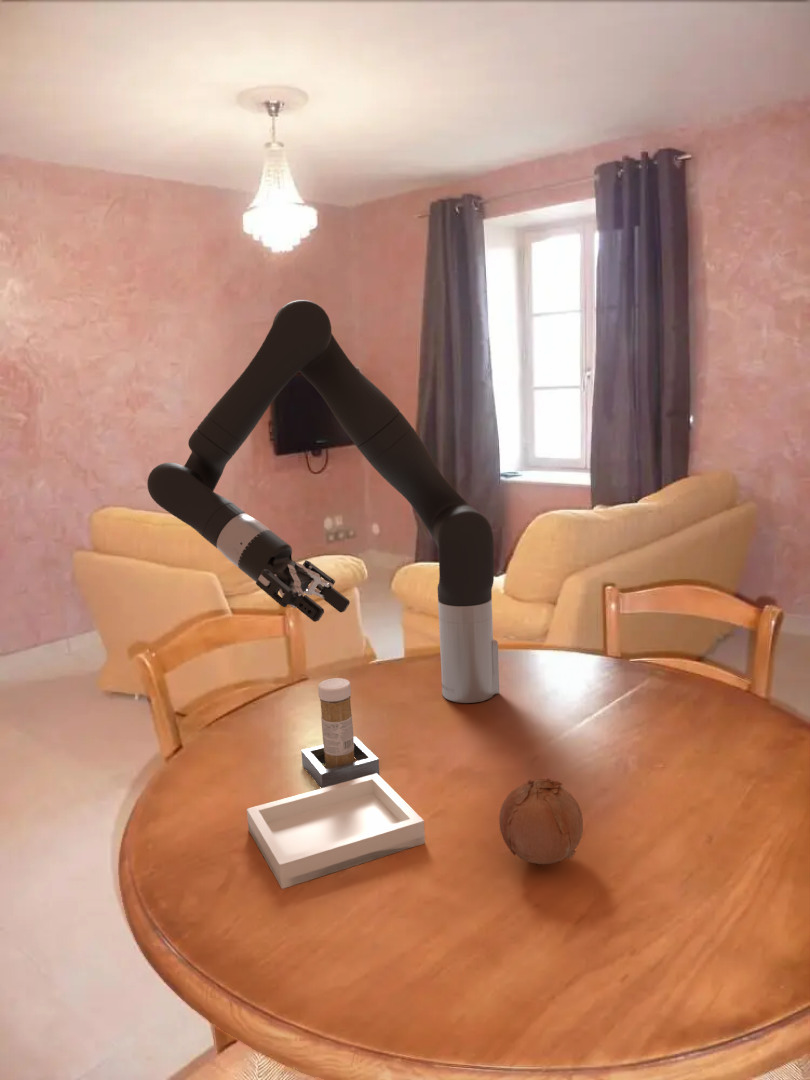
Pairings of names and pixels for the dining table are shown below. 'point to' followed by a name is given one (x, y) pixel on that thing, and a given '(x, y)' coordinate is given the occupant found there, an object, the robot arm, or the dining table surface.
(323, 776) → the metal collar
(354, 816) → the plastic tray
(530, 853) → the onion
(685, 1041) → the dining table surface
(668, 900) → the dining table surface
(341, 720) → the sprinkles bottle
